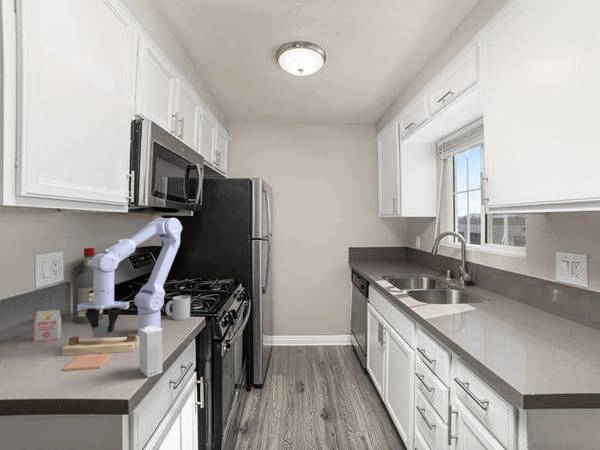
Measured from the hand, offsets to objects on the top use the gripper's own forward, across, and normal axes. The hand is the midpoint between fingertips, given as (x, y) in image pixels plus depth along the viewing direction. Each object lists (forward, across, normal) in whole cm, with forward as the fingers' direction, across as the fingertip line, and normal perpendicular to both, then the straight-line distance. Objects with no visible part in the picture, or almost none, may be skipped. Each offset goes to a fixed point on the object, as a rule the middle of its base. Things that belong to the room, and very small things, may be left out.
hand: (103, 331), depth 101 cm
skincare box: (+6, +19, -19) cm, 28 cm away
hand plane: (+6, 0, 0) cm, 6 cm away
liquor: (+6, -18, +33) cm, 38 cm away
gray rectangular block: (+1, 0, 0) cm, 1 cm away
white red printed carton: (+6, -22, +12) cm, 26 cm away
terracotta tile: (+6, 0, -10) cm, 12 cm away
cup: (+6, +18, +30) cm, 35 cm away
